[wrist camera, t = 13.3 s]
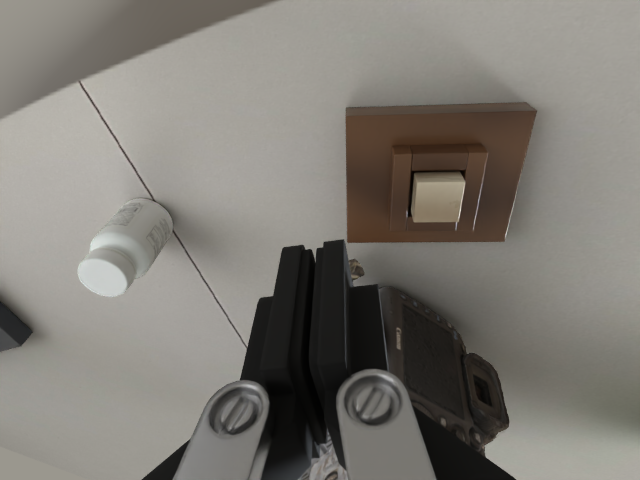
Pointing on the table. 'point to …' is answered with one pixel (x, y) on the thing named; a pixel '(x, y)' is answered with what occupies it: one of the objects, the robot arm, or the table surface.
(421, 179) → the key
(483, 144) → the brown light switch
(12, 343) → the dark grey flat block
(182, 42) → the table surface
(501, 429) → the camera
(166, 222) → the pill bottle
